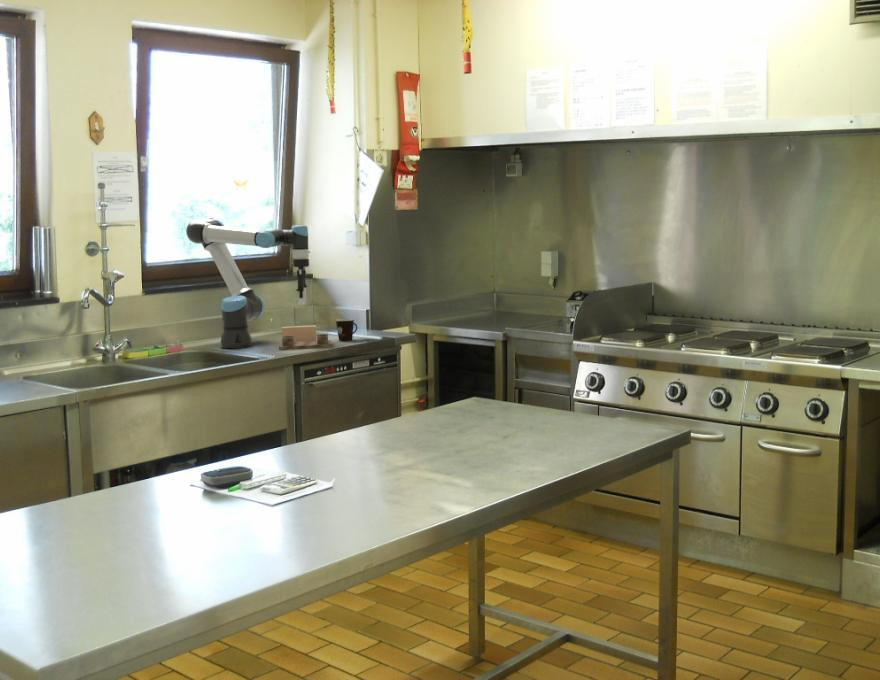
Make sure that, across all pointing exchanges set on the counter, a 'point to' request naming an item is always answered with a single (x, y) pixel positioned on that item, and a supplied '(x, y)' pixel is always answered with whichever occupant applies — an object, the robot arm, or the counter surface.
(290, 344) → the drying rack
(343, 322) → the coffee mug
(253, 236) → the robot arm
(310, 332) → the clay bar
